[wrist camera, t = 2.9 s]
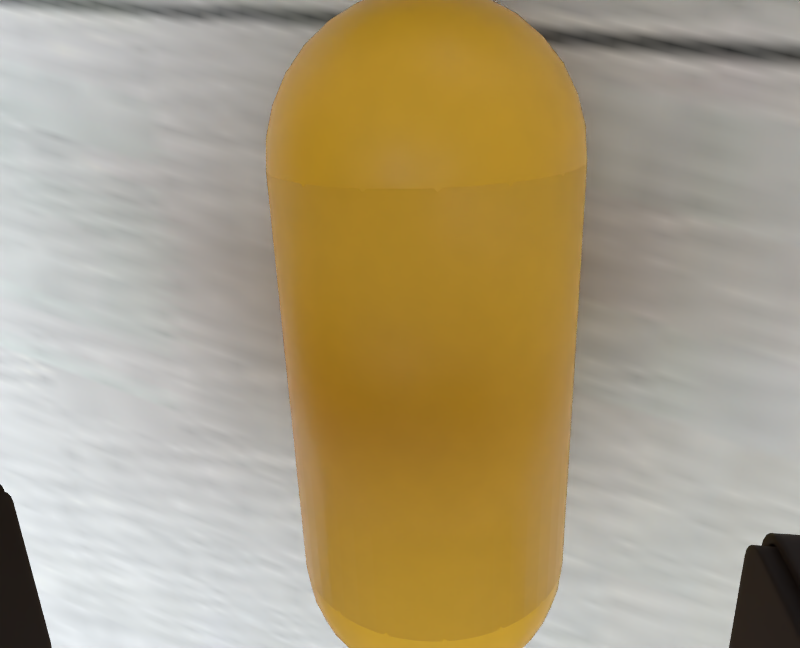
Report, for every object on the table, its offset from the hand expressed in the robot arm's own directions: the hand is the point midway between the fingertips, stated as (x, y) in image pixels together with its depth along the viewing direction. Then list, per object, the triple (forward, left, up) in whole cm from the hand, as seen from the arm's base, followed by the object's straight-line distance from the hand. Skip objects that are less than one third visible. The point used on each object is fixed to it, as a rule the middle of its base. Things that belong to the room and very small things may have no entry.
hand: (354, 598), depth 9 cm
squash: (0, 0, -9) cm, 9 cm away
